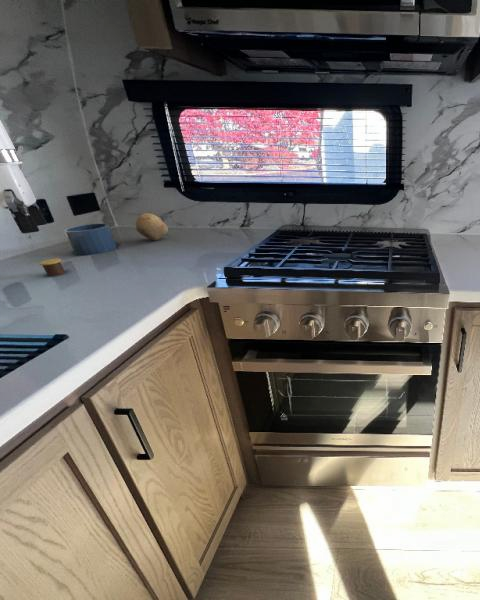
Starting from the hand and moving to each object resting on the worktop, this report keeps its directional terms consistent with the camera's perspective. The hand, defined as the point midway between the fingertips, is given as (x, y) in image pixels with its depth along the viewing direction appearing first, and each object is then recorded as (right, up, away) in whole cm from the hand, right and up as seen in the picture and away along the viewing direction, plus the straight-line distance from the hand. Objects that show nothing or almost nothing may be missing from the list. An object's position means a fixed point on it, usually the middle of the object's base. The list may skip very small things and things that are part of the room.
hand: (35, 228), depth 87 cm
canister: (-8, -2, +27) cm, 28 cm away
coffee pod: (0, -12, +6) cm, 13 cm away
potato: (+4, +4, +37) cm, 37 cm away
